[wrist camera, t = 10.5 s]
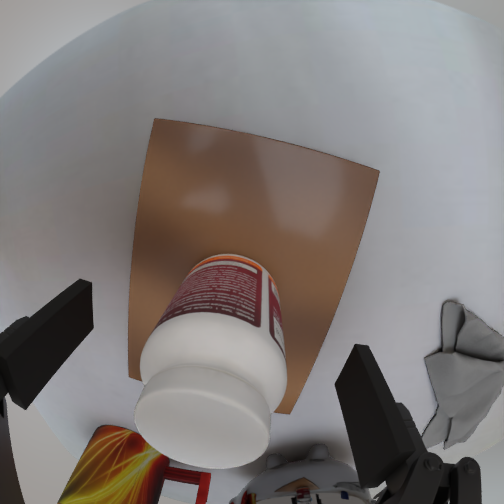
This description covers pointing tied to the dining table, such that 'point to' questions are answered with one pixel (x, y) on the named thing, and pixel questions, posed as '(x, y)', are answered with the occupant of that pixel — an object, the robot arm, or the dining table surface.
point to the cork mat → (247, 229)
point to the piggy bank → (305, 482)
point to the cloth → (463, 376)
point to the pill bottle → (214, 366)
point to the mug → (125, 471)
